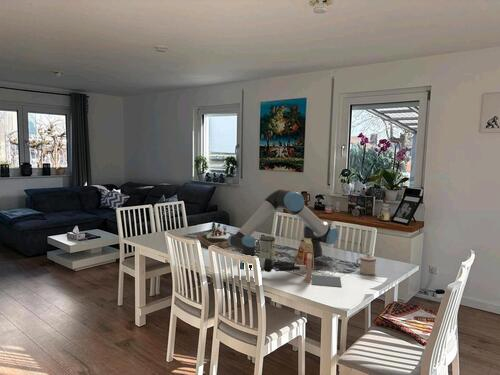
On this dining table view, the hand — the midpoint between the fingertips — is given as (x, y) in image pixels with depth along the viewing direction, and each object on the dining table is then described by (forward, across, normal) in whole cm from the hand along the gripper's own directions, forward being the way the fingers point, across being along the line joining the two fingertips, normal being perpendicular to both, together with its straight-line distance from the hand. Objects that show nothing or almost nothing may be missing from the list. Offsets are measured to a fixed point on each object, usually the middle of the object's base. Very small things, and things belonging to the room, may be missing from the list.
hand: (305, 268), depth 212 cm
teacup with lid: (+35, -23, -7) cm, 43 cm away
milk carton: (-1, -21, -7) cm, 22 cm away
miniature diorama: (-70, -67, -7) cm, 97 cm away
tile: (+2, -1, -7) cm, 7 cm away
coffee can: (-27, -35, -7) cm, 45 cm away
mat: (+12, -1, -7) cm, 14 cm away
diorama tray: (-68, -67, -7) cm, 96 cm away
